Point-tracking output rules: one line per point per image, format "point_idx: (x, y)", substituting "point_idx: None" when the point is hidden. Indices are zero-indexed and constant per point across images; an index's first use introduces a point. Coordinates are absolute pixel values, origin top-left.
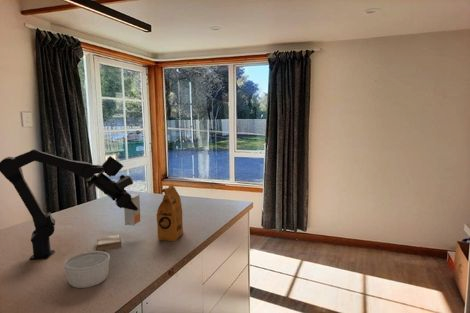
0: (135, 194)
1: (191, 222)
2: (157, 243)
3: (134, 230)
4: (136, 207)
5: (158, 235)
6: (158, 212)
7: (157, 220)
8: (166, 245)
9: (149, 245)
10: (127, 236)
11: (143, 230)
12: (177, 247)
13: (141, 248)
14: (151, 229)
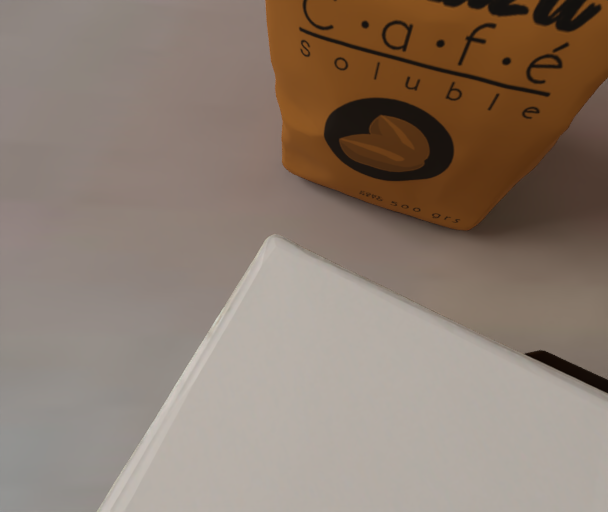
0: (189, 399)
1: (159, 7)
2: (508, 246)
3: (143, 422)
4: (597, 381)
5: (483, 218)
6: (593, 74)
7: (545, 152)
8: (558, 191)
9: (536, 302)
10: None
11: (180, 341)
12: (605, 132)
13: (586, 362)
14: (184, 275)
